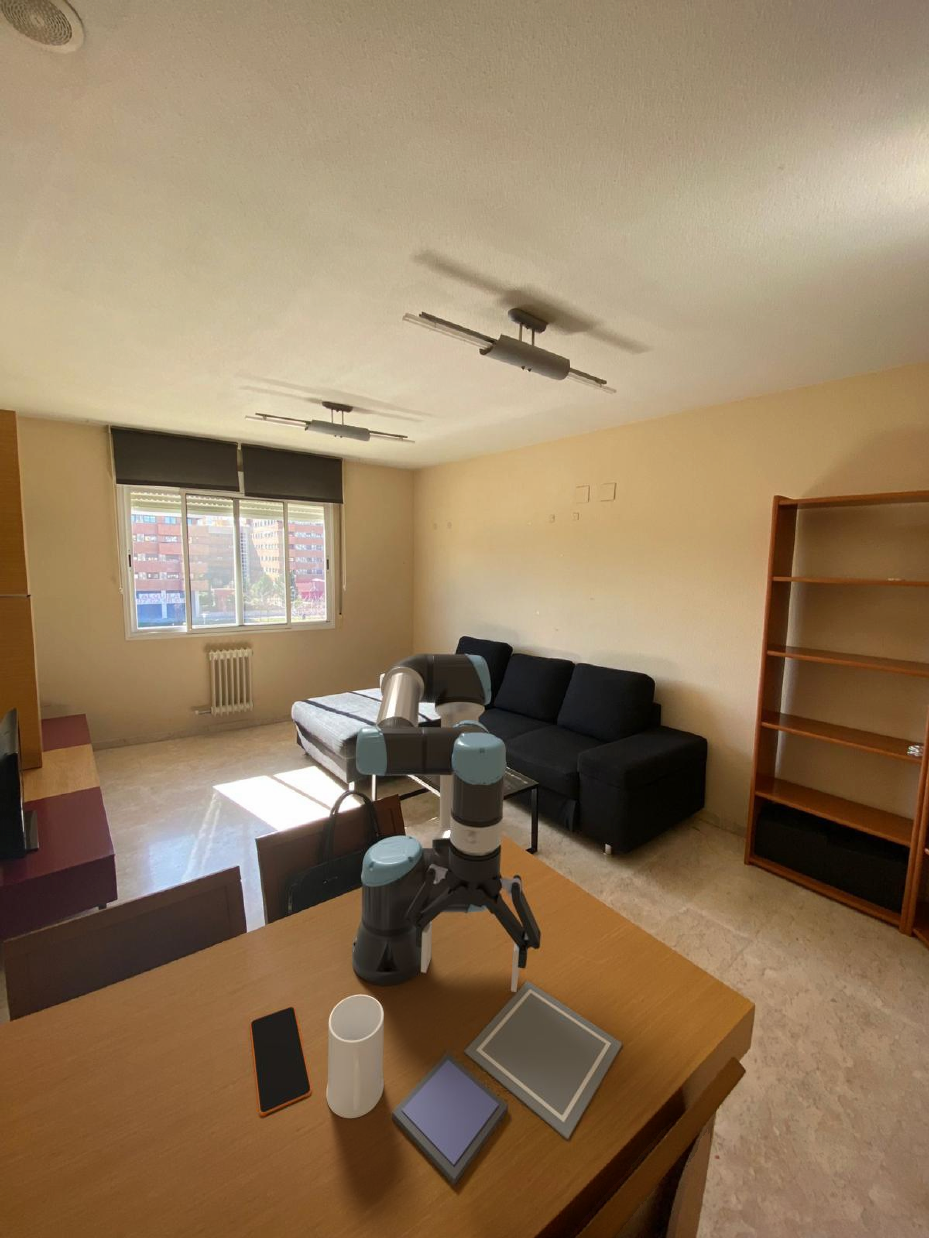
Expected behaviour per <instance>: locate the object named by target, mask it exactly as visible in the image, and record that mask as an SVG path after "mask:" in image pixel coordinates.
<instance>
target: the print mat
mask: <svg viewBox="0 0 929 1238" xmlns="http://www.w3.org/2000/svg"><path fill="white" fill-rule="evenodd" d="M622 1046H623V1042H622V1041H619V1040H618V1039H616V1038H615V1037H614V1036H612V1035H611V1034H609V1033H607V1032H606V1031H605V1030H604V1029H601V1028H600V1027H598V1026H597V1025H595V1023H592V1022H591V1021H589V1020H588V1019H586V1018H585V1017H583V1016H582V1015H580V1014H579V1013H577V1012H575V1011H574V1010H573V1009H571V1008H570V1007H568V1006H567V1005H565V1004H563V1003H562V1002H561V1001H559V1000H557V999H556V998H554V997H553V996H552V995H550V994H548V993H547V992H545V991H544V990H542V989H541V988H539V986H536V985H535V984H533V983H532V982H530V981H529V980H527V981H526V982H525V983H524V984H523V985H522V986H521V988H520V989H518V990H517V991H516V992H515V994H514V995H513V996H512V997H511V999H509V1000H508V1002H507V1003H506V1004H505V1005H504V1007H502V1008H501V1010H500V1011H499V1012H498V1013H497V1014H496V1015H495V1016H494V1017H493V1018H492V1019H491V1021H490V1022H488V1024H487V1026H485V1027H484V1029H482V1031H481V1032H480V1033H479V1034H478V1035H477V1036H476V1038H474V1040H472V1042H471V1043H470V1044H469V1045H468V1046H467V1047H466V1049H465V1050H464V1052H463V1053H464V1054H465V1055H466V1056H468V1058H469V1059H471V1060H472V1061H474V1063H476V1064H477V1065H478V1066H479V1067H480V1068H482V1069H483V1070H484V1071H485V1072H486V1073H488V1074H489V1075H490V1076H491V1077H492V1078H494V1079H495V1080H496V1081H497V1082H498V1083H499V1084H500V1085H502V1086H503V1087H504V1088H505V1089H507V1090H508V1091H509V1092H510V1093H511V1094H512V1095H514V1097H515V1098H517V1099H518V1100H519V1101H520V1102H522V1103H523V1104H524V1105H525V1106H526V1107H527V1108H529V1109H530V1110H531V1111H533V1113H535V1114H536V1116H538V1117H539V1118H540V1119H542V1120H543V1121H544V1122H545V1123H546V1124H548V1125H549V1126H550V1127H551V1128H552V1129H553V1130H555V1131H556V1132H557V1133H558V1134H559V1135H560V1136H562V1137H563V1138H564V1139H566V1140H567V1141H568V1140H569V1139H570V1137H571V1135H572V1133H573V1132H574V1130H575V1128H576V1126H577V1124H578V1123H579V1121H580V1119H581V1118H582V1117H583V1114H584V1113H585V1111H586V1110H587V1107H588V1106H589V1104H590V1102H591V1100H592V1098H593V1096H594V1095H595V1094H596V1092H597V1090H598V1088H599V1086H600V1084H601V1083H602V1081H603V1080H604V1077H605V1076H606V1074H607V1073H608V1070H609V1069H610V1068H611V1065H612V1064H613V1062H614V1061H615V1058H616V1057H617V1055H618V1053H619V1051H620V1050H621V1048H622Z"/></svg>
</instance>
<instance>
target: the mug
mask: <svg viewBox="0 0 929 1238" xmlns="http://www.w3.org/2000/svg"><path fill="white" fill-rule="evenodd" d="M384 1017H385V1013H384V1008H383V1006H382V1004H381V1003H380V1002H379V1001H378V1000H377V999H376V998H375V997H373V996H372V995H371V996H370V995H367V994H355V995H350V996H348V997H346V998H344V999H342V1000H340V1001H339V1002H338V1003H337V1004H336V1005H335V1006H334V1007H333V1009H332V1011H331V1013H330V1015H329V1018H328V1046H327V1047H328V1054H327V1055H328V1058H327V1059H328V1061H327V1062H328V1063H327V1064H328V1065H327V1067H328V1068H327V1069H328V1070H327V1073H328V1074H327V1075H328V1076H327V1086H326V1090H325V1091H326V1101H327V1104H328V1107H329V1108H330V1110H331V1111H332V1112H333V1113H334V1114H335V1115H337V1116H338V1117H341V1118H345V1119H356V1118H359V1117H363V1116H364V1115H366V1114H368V1113H369V1112H371V1111H372V1110H373V1109H374V1108H375V1106H377V1105H378V1103H379V1101H380V1100H381V1097H382V1095H383V1093H384V1092H383V1091H384V1086H385V1080H384V1074H383V1068H384V1066H383V1064H384V1063H383V1062H384V1059H383V1058H384V1021H385V1020H384Z"/></svg>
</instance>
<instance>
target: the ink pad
mask: <svg viewBox="0 0 929 1238" xmlns="http://www.w3.org/2000/svg"><path fill="white" fill-rule="evenodd" d="M508 1112H509V1104H508V1103H506V1102H505V1101H504V1099H502V1098H501V1097H500V1096H498V1095H497V1093H495V1092H494V1091H492V1090H491V1089H490V1088H489V1087H488V1085H486V1084H484V1082H482V1081H481V1080H480V1079H479V1078H478V1077H477V1076H476V1075H474V1074H473V1073H472V1072H471V1071H469V1070H468V1068H466V1067H465V1066H464V1065H463V1064H462V1063H460V1062H459V1061H458V1059H456V1058H455V1057H454V1056H453V1055H451V1053H449V1052H446V1053H445V1054H444V1056H442V1057H441V1059H440V1060H439V1061H438V1062H437V1063H436V1064H435V1065H434V1066H433V1067H432V1068H431V1069H430V1070H429V1072H427V1073H426V1075H425V1076H424V1077H423V1078H422V1079H421V1080H420V1081H419V1082H418V1083H417V1084H416V1085H415V1087H413V1089H412V1090H410V1092H409V1093H408V1094H406V1096H405V1097H404V1098H403V1099H402V1100H401V1101H400V1103H399V1104H398V1105H397V1106H396V1107H395V1108H394V1109H393V1110H392V1111H391V1118H392V1120H393V1121H394V1122H395V1123H396V1124H397V1126H398V1127H400V1129H401V1130H403V1132H404V1133H405V1134H406V1135H407V1137H409V1139H411V1140H412V1142H413V1143H414V1145H416V1146H417V1147H418V1148H419V1149H420V1150H421V1152H422V1153H423V1154H424V1155H425V1156H426V1157H427V1158H428V1159H429V1160H430V1161H431V1162H432V1164H434V1166H435V1167H436V1168H437V1169H438V1170H439V1171H440V1172H441V1173H442V1174H443V1175H444V1176H445V1177H446V1179H447V1180H448V1181H449V1182H450V1183H451V1184H452V1185H453V1186H455V1185H456V1184H457V1183H458V1181H459V1180H460V1179H461V1177H462V1176H463V1175H464V1173H465V1171H466V1170H467V1169H468V1167H469V1166H470V1164H471V1163H472V1161H473V1160H475V1159H474V1158H475V1157H476V1156H477V1155H478V1153H479V1152H480V1151H481V1149H482V1148H483V1146H484V1145H485V1143H486V1142H487V1141H488V1140H489V1138H490V1136H491V1135H492V1134H493V1132H494V1131H495V1130H496V1129H497V1127H498V1125H499V1124H500V1123H501V1121H502V1120H503V1118H504V1117H505V1115H506V1114H507V1113H508Z"/></svg>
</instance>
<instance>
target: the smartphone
mask: <svg viewBox="0 0 929 1238" xmlns="http://www.w3.org/2000/svg"><path fill="white" fill-rule="evenodd" d="M249 1030H250V1031H249V1032H250V1041H251V1042H250V1043H251V1049H252V1050H251V1051H252V1058H253V1069H254V1077H255V1078H254V1079H255V1088H256V1098H257V1108H258V1115H259V1116H260V1117H266V1116H268V1115H270V1114H273V1113H274V1112H276V1111H279V1110H281V1109H283V1108H284V1107H286V1106H289V1105H293V1104H295V1103H297V1102H299V1101H302V1100H304V1099H306V1098H308V1097H310V1096H311V1095H312V1093H313V1088H312V1084H311V1083H312V1082H311V1078H310V1074H309V1070H308V1069H309V1068H308V1064H307V1060H306V1056H305V1049H304V1046H303V1045H304V1044H303V1036H302V1034H301V1031H300V1030H301V1027H300V1023H299V1018H298V1016H297V1012H296V1008H295V1007H294V1006H288V1007H286V1008H283V1009H282V1008H281V1009H280V1010H278V1011H274V1012H272V1013H269V1014H266V1015H263V1016H261V1017H257V1018H255V1019H253V1020H251V1021H250V1023H249Z"/></svg>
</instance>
